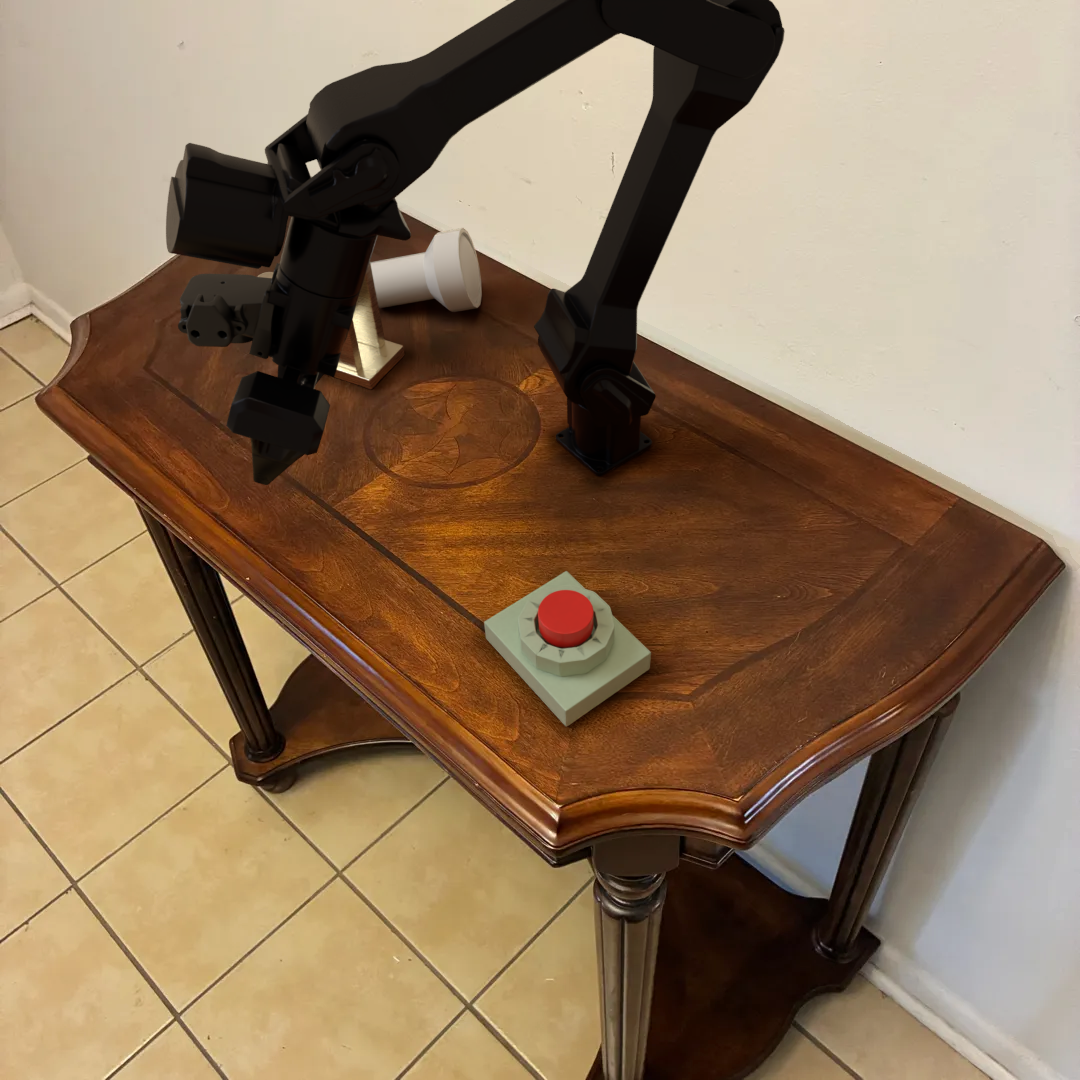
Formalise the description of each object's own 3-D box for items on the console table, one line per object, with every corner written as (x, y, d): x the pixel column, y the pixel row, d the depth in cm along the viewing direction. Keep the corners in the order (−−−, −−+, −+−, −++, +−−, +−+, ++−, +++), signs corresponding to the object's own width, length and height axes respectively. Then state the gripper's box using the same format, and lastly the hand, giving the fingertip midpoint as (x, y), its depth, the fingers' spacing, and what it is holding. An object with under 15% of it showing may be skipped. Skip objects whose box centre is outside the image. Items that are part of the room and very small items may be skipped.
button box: (650, 669, 74) (652, 637, 71) (566, 727, 71) (565, 697, 68) (566, 587, 79) (566, 555, 76) (485, 638, 76) (481, 607, 73)
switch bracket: (305, 367, 99) (277, 264, 90) (340, 334, 102) (317, 232, 93) (371, 390, 96) (350, 286, 87) (405, 354, 100) (387, 252, 91)
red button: (604, 629, 72) (604, 614, 71) (561, 657, 71) (561, 643, 69) (570, 595, 74) (570, 580, 73) (527, 622, 73) (526, 607, 71)
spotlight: (479, 320, 101) (458, 244, 96) (375, 337, 103) (349, 265, 98) (490, 287, 107) (471, 214, 102) (392, 304, 109) (368, 234, 105)
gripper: (232, 181, 74) (196, 353, 83) (166, 299, 59) (132, 490, 69) (377, 235, 77) (326, 395, 86) (347, 358, 62) (290, 534, 72)
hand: (271, 447), depth 78 cm, fingers open, 9 cm apart
